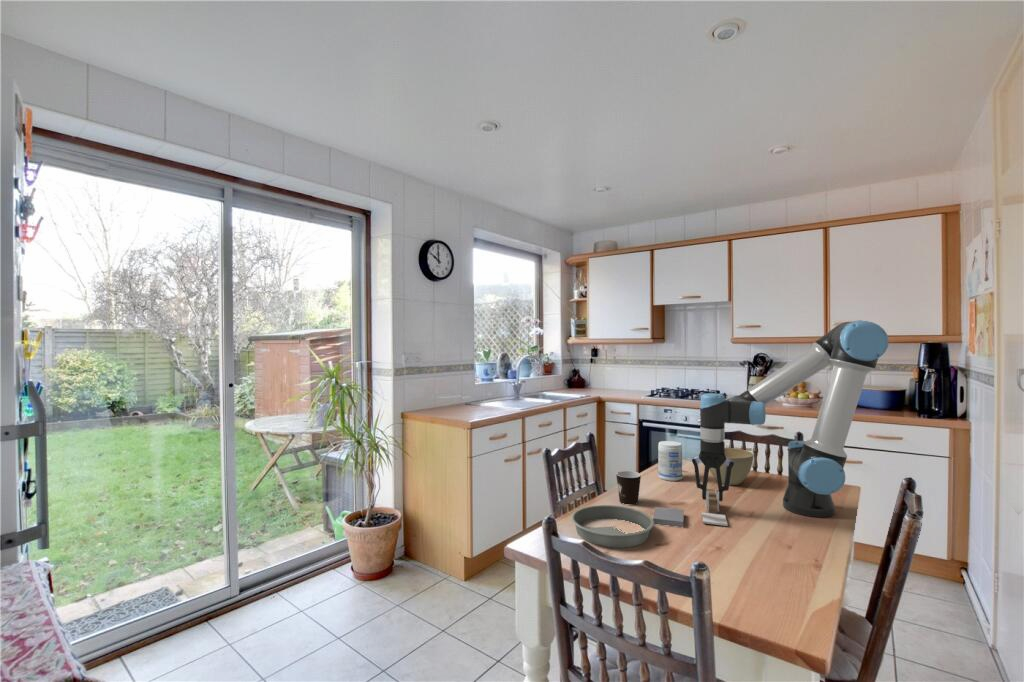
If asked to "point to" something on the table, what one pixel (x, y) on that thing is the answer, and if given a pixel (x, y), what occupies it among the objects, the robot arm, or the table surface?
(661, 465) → the supplement tub
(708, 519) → the wooden handled spatula
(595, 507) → the cake pan
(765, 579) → the table surface
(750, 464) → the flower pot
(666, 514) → the standing tile
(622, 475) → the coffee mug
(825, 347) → the robot arm
